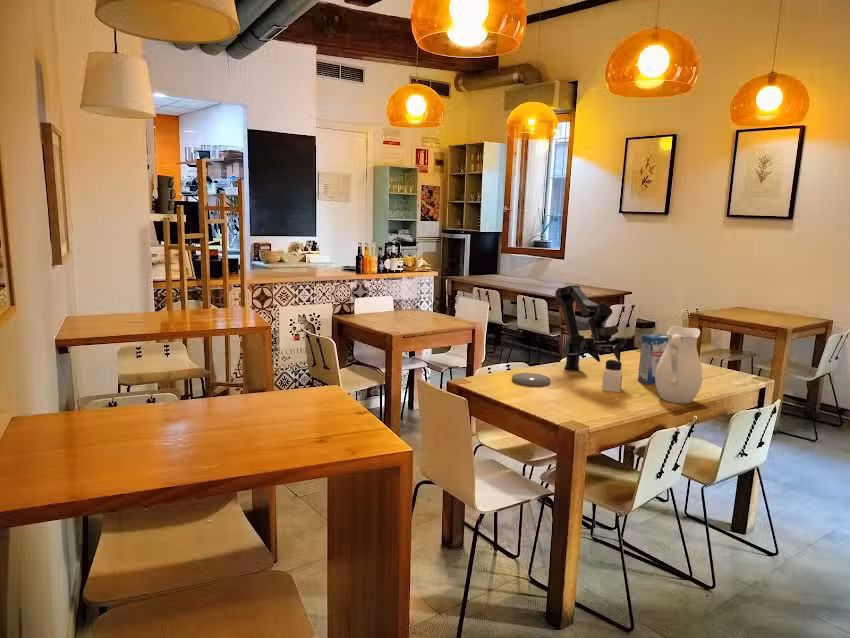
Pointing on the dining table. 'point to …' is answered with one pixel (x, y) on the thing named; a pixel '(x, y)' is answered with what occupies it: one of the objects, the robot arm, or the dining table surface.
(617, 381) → the medicine bottle
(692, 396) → the pitcher
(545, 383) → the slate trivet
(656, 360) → the milk carton
